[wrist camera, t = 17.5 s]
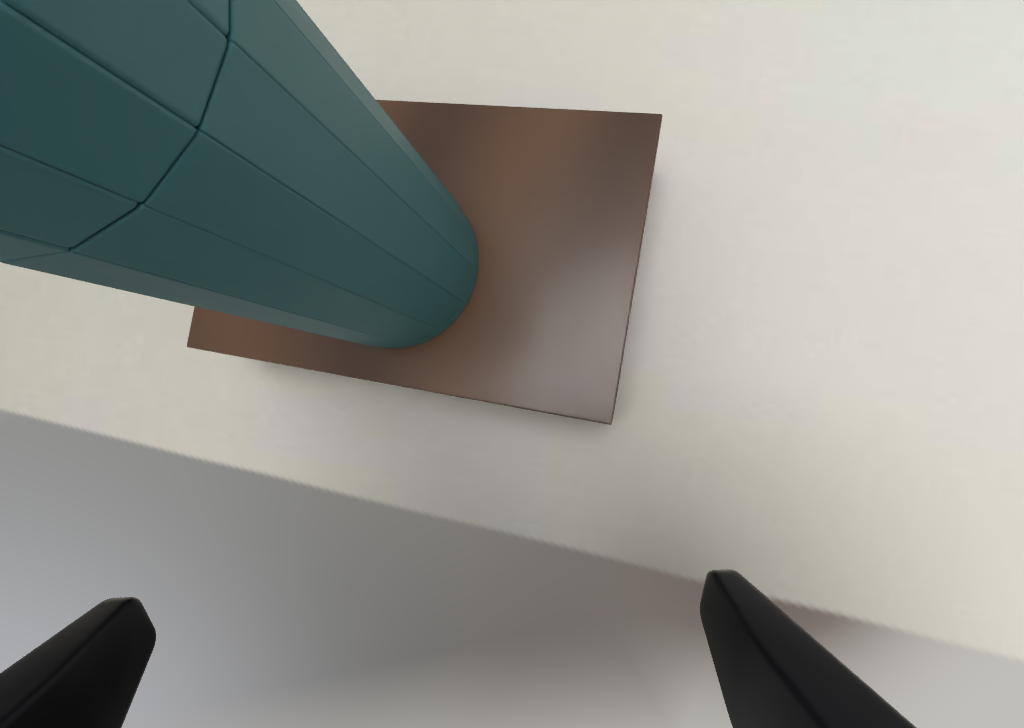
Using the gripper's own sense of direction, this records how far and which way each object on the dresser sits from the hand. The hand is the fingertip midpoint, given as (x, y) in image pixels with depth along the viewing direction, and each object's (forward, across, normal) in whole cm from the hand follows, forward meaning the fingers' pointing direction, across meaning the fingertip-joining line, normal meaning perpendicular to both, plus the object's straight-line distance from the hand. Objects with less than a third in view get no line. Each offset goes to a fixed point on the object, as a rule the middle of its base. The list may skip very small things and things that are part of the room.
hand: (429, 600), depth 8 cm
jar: (+12, +2, -2) cm, 12 cm away
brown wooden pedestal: (+15, +1, -1) cm, 15 cm away
